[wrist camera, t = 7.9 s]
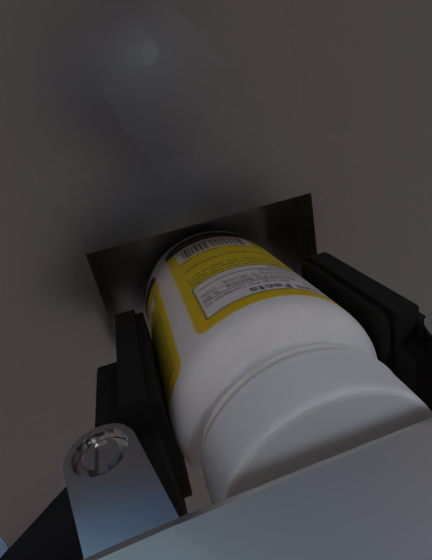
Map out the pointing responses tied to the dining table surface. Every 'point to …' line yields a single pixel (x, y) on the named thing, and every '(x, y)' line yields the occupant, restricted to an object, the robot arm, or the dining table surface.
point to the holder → (188, 177)
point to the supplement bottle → (262, 366)
